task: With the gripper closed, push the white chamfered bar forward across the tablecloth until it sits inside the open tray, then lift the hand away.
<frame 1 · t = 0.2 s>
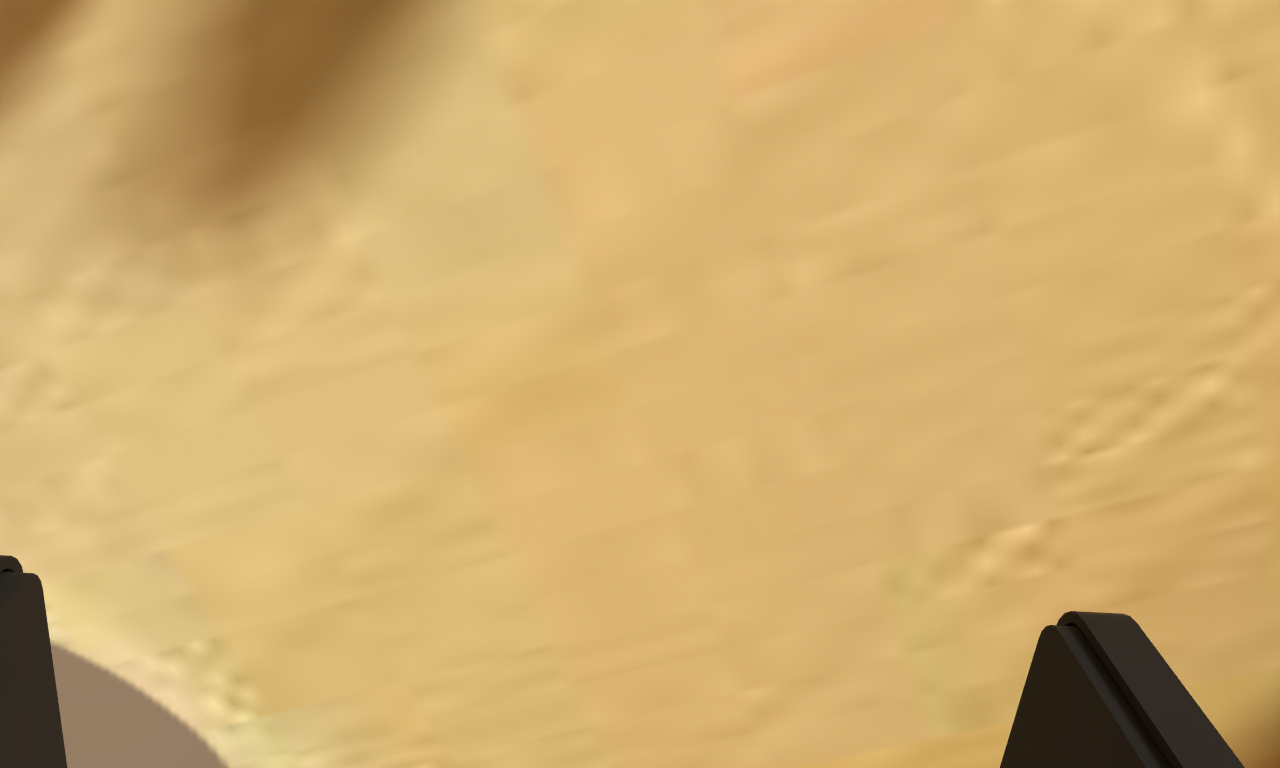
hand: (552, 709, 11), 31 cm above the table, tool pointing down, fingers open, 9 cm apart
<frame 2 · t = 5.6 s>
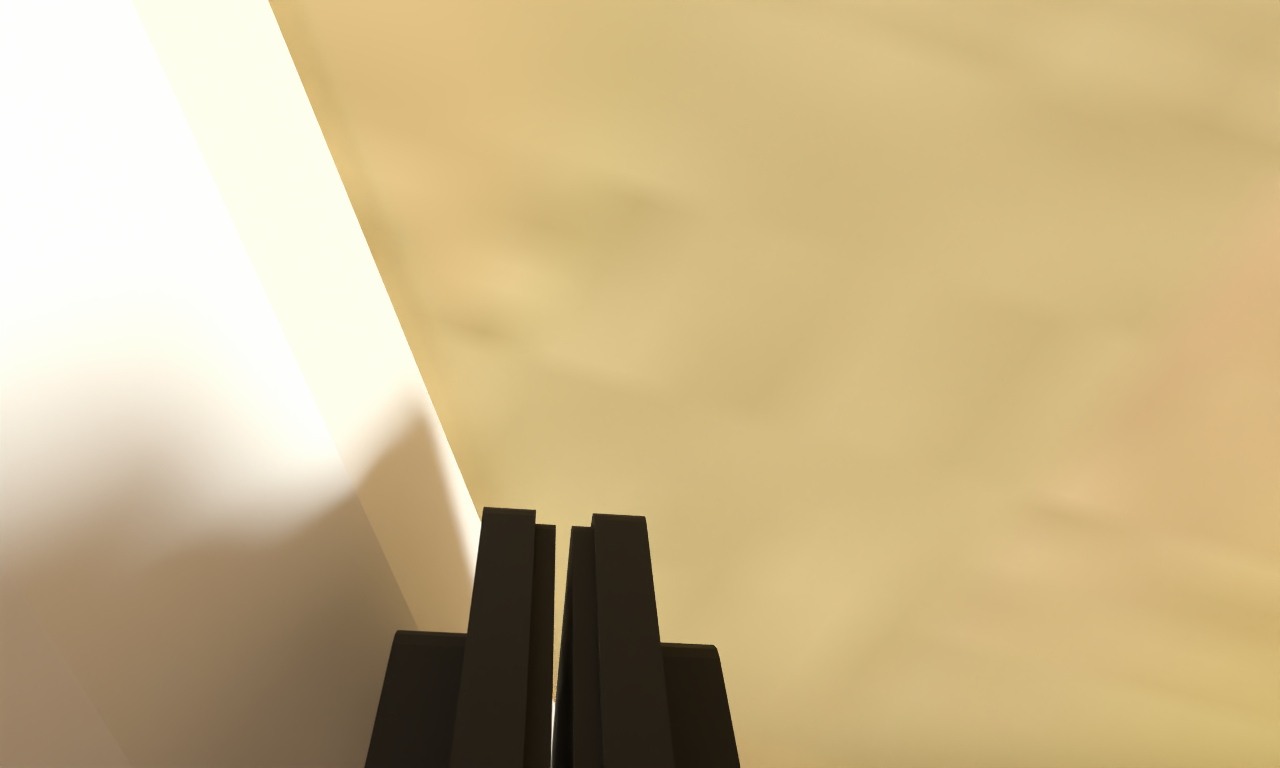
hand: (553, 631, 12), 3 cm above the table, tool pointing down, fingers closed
white chamfered bar: (180, 486, 15), on the table, touching gripper
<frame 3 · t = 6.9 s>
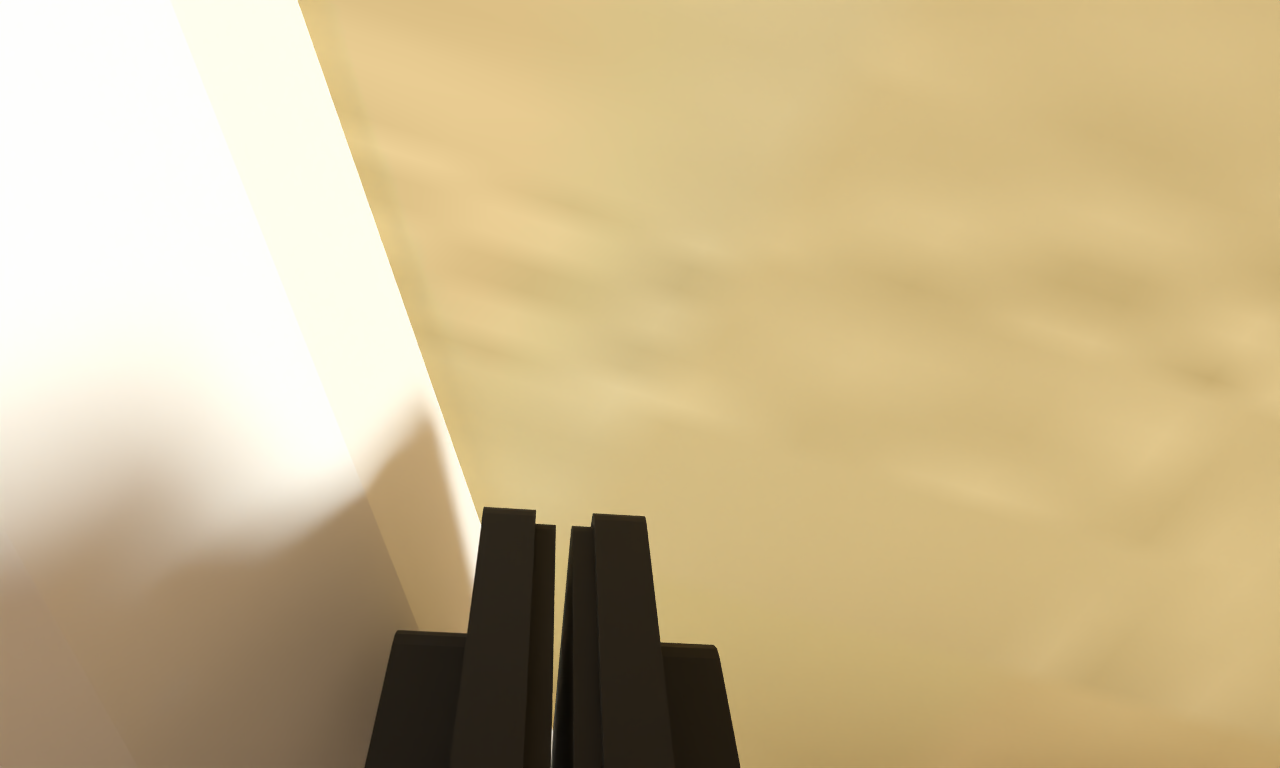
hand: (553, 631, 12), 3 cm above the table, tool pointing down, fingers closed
white chamfered bar: (244, 618, 15), on the table, touching gripper
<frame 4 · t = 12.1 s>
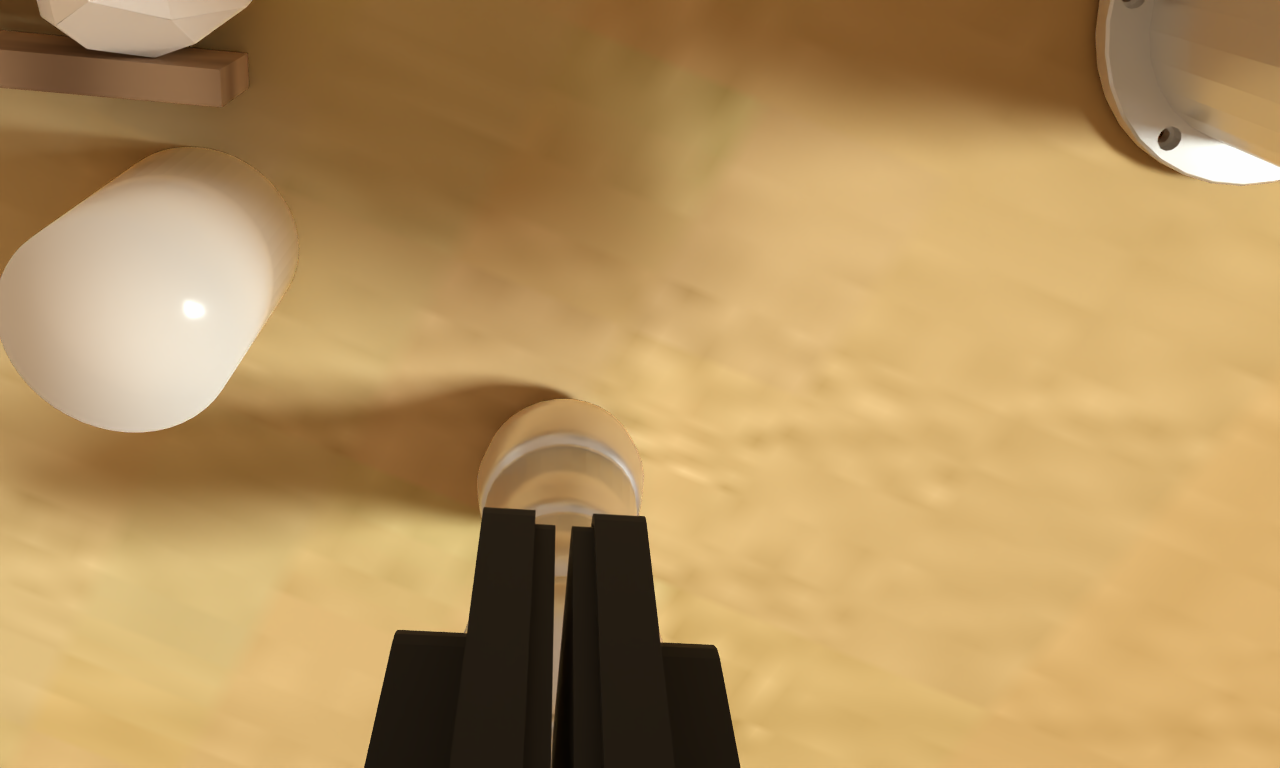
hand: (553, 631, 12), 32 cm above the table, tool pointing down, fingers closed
plastic bottle: (561, 449, 47), on the table
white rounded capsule: (203, 239, 43), on the table
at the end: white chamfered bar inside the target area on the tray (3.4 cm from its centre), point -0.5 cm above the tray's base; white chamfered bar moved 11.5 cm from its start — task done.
